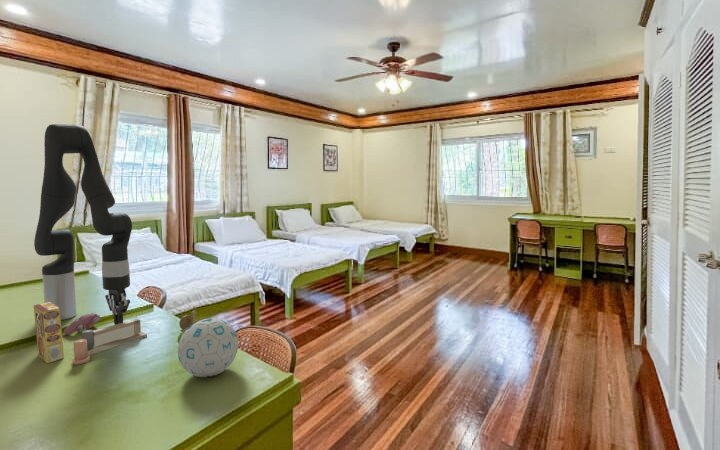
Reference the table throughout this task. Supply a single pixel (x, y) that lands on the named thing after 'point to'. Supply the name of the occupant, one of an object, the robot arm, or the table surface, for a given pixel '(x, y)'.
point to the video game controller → (82, 323)
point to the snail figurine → (186, 323)
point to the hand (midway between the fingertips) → (118, 324)
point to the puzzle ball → (207, 347)
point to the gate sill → (116, 343)
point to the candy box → (48, 332)
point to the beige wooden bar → (111, 333)
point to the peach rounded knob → (80, 352)
